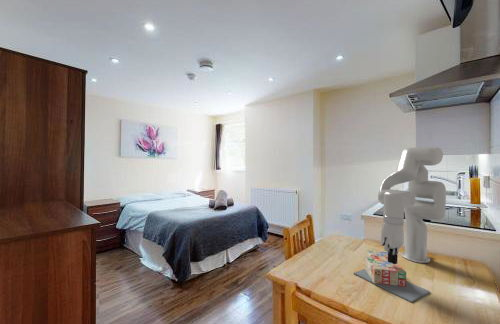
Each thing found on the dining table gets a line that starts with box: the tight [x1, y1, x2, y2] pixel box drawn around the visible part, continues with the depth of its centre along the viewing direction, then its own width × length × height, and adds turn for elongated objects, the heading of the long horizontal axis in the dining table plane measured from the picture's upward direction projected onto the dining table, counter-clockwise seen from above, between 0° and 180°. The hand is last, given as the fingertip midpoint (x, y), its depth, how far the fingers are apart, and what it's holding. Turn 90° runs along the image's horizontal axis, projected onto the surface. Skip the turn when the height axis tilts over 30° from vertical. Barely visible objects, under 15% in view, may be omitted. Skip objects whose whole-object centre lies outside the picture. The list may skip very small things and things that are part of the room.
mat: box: [353, 268, 431, 304], centre depth 98 cm, size 14×24×1 cm, turn 29°
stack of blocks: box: [364, 250, 407, 287], centre depth 105 cm, size 21×6×12 cm
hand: (392, 262), depth 99 cm, fingers closed
